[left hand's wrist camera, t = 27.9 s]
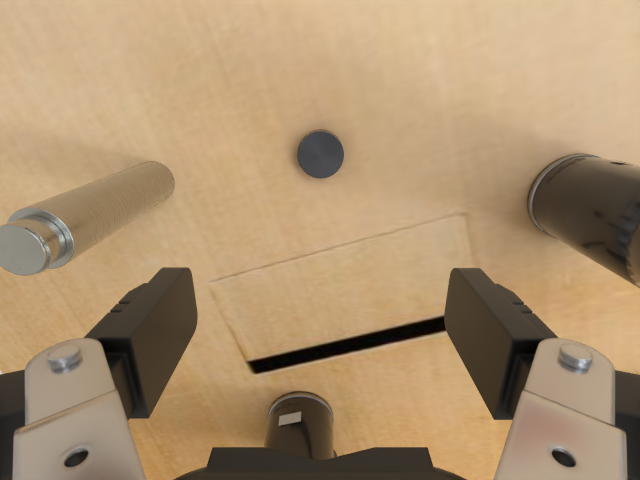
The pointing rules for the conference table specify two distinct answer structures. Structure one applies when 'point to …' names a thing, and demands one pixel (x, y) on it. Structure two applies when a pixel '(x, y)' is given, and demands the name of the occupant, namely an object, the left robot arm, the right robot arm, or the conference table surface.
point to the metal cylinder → (79, 218)
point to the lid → (320, 154)
